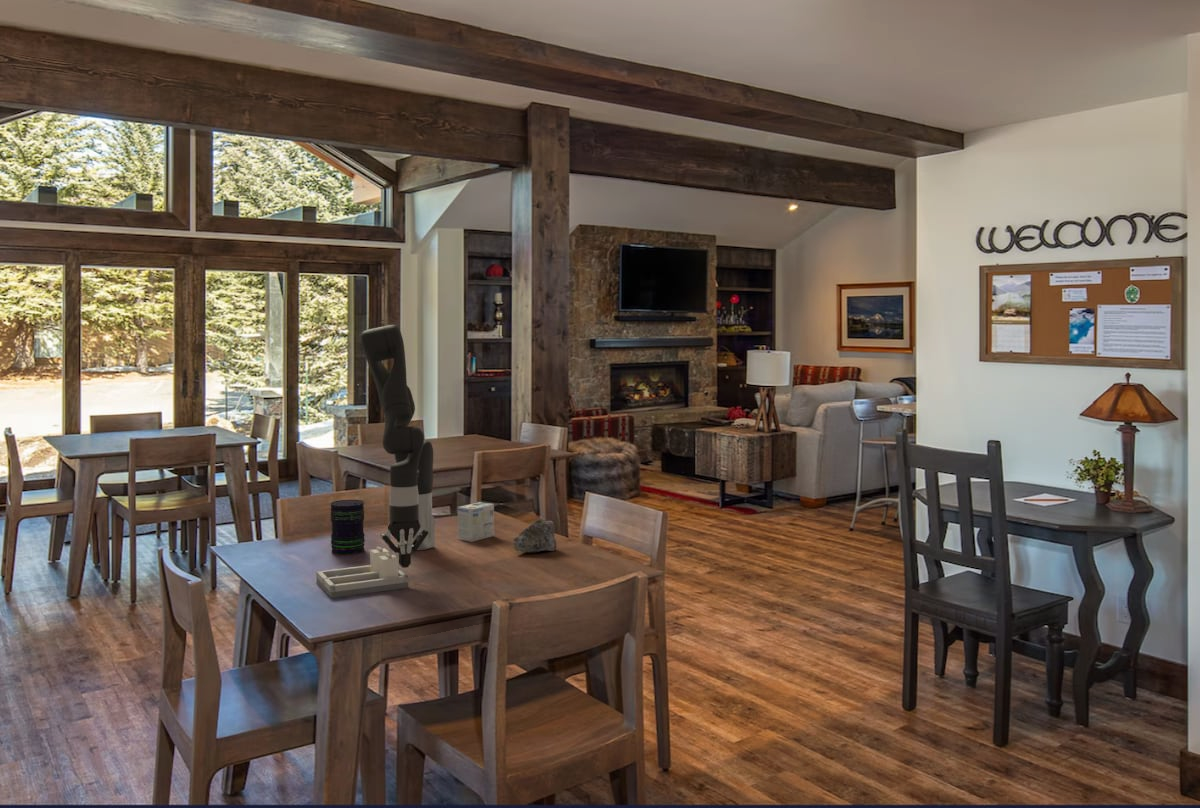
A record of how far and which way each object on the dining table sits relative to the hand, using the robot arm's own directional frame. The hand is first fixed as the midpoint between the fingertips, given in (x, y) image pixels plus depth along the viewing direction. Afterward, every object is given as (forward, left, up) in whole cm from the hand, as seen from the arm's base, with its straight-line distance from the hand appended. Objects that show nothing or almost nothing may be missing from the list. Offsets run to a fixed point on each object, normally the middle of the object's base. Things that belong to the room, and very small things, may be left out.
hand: (404, 566), depth 245 cm
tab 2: (+4, 0, -3) cm, 5 cm away
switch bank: (+10, -4, -5) cm, 12 cm away
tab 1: (+4, -8, -3) cm, 10 cm away
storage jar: (+4, -43, -5) cm, 43 cm away
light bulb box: (-37, -42, -5) cm, 56 cm away
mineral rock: (-46, -17, -5) cm, 49 cm away
